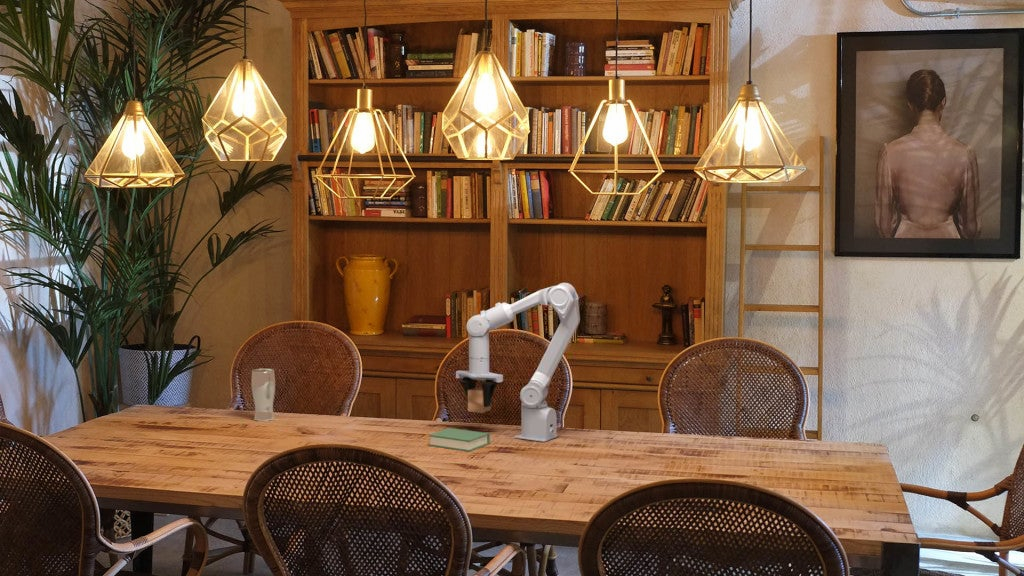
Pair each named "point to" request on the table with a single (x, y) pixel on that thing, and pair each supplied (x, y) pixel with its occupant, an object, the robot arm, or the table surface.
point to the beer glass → (263, 393)
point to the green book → (459, 439)
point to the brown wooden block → (477, 401)
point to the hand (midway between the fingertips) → (479, 405)
